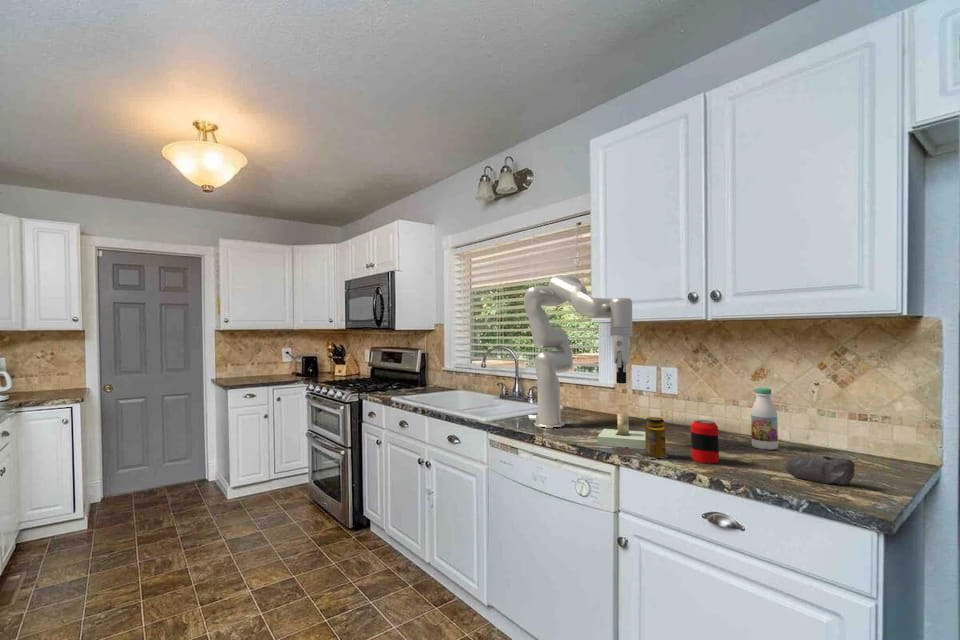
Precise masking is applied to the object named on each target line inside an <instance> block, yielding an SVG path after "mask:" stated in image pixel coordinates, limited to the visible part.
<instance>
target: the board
mask: <svg viewBox="0 0 960 640" xmlns="http://www.w3.org/2000/svg"><path fill="white" fill-rule="evenodd" d="M596 438H597V441H596V442H597V444H596V445H597V446H605V447H617V448H625V447H628V448H629V449H638V450H646V444H645V431H641V430H640V431H639V430H637V431H636V430H629V435H628V436H620V435H618V429H612V428H610V429H609V428H603V429H602V430H601V432H600V433H599V434H598V435H597V437H596Z"/></svg>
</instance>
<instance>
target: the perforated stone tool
mask: <svg viewBox="0 0 960 640" xmlns="http://www.w3.org/2000/svg"><path fill="white" fill-rule="evenodd" d="M855 465H856V464H855V462H854V461H852V459H849V458H842V457H834V456H827V455H797V456H793V457H790V458H789V459H786V461H785V464H784V468H785V470H786V472H787V473H788V474H789V475H791V476H792V477H795V478H798V479H801V480H807V479H808V481H810V480H811V482H813V481H814V483H819V482H820V484H824V483H825V484H826V485H829V484H837V486H845V485H848V484H849V483H851V481H852V480H853V479H854V476H855V472H856V470H855Z"/></svg>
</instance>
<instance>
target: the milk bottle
mask: <svg viewBox="0 0 960 640" xmlns="http://www.w3.org/2000/svg"><path fill="white" fill-rule="evenodd" d="M755 396H756V398H755V401H754V403H753V405H752V407H751V411H750V412H751V413H750V424H751V427H750V428H751V430H750V431H751V432H750V433H751V445H752V446H751V447H753V448H756V449H758V450H759V449H760V450H766V449H767V450H768V451H770V450H771V451H773V450H774V449H775V450H777V449H778V448H779V431H778V430H779V429H778V428H779V427H778V425H779V424H778V413H777V409H776V407H775V405H774V403H773V401H772V399H771V398H772V397H771V396H772V389H771V388H767V387H756V388H755ZM767 450H766V451H767Z"/></svg>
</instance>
